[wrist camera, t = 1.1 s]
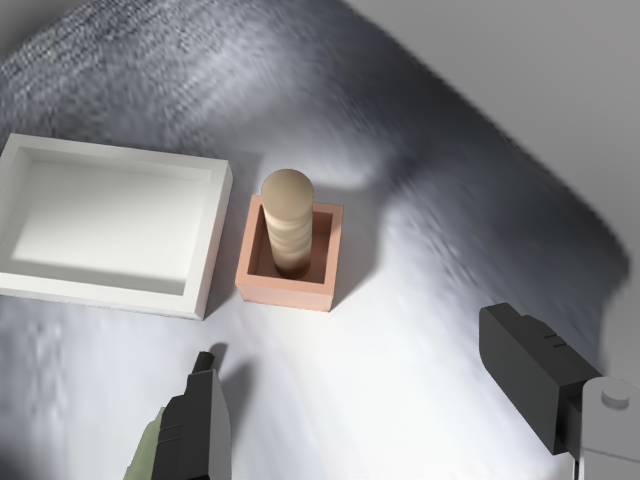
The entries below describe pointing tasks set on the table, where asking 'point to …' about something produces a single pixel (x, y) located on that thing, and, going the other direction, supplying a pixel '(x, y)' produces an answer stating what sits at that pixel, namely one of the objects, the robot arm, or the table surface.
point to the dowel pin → (289, 221)
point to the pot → (259, 269)
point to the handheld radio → (157, 433)
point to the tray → (110, 225)
